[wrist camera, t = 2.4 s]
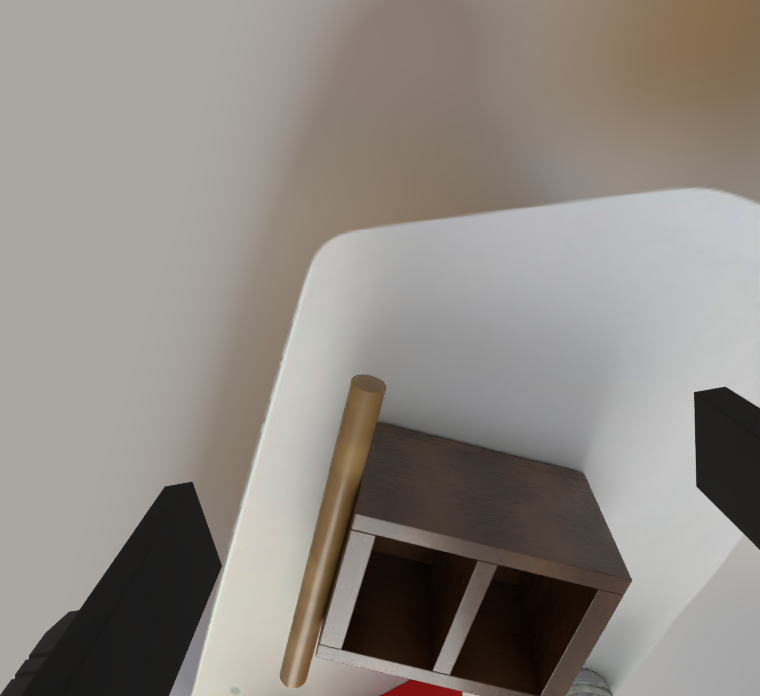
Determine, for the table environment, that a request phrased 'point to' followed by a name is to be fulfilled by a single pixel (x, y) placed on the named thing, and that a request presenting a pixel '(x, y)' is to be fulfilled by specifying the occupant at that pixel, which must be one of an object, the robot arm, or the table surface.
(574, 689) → the camera lens
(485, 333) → the table surface
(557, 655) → the divided box with dowel
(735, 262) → the table surface
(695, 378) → the table surface
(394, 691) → the red rounded slab
